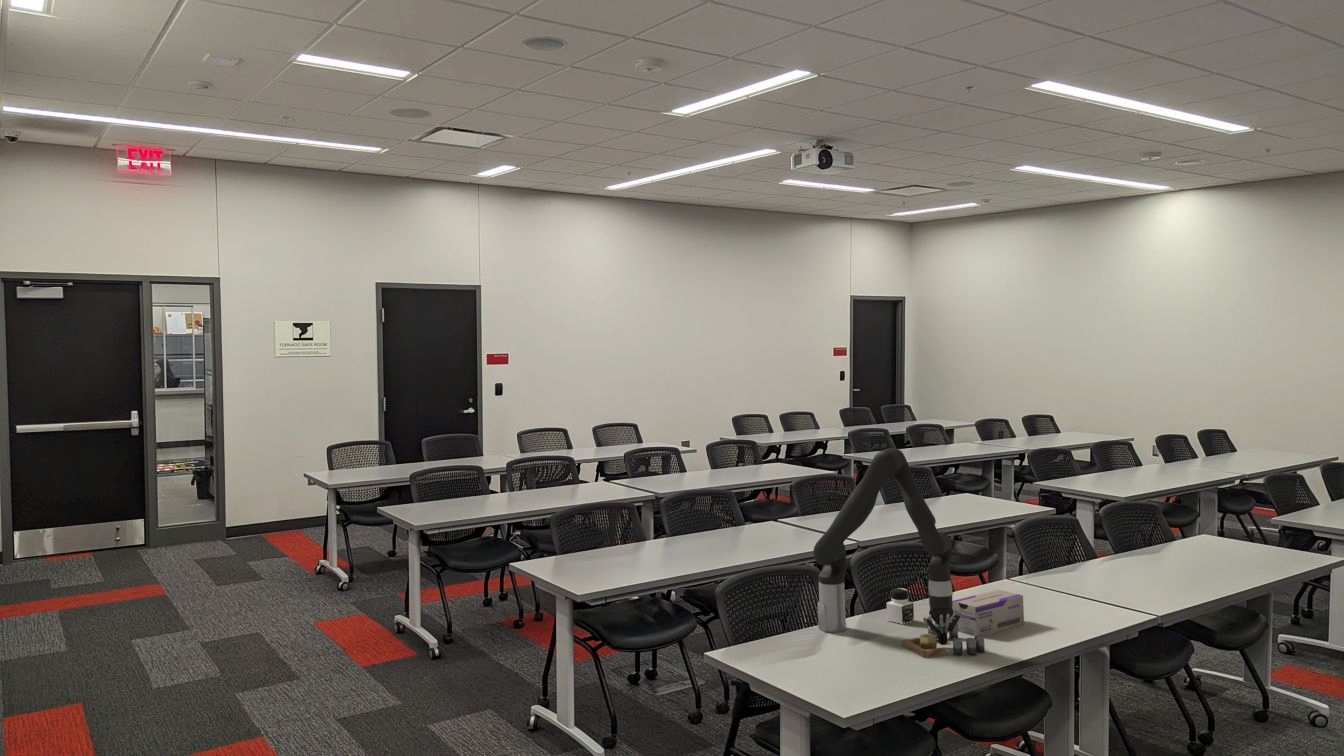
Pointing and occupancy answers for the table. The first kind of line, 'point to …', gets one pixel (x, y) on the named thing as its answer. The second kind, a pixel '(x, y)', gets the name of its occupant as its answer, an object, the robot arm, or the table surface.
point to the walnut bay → (914, 647)
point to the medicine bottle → (900, 607)
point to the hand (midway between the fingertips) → (942, 644)
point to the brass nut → (928, 641)
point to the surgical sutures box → (989, 612)
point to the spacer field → (971, 643)
